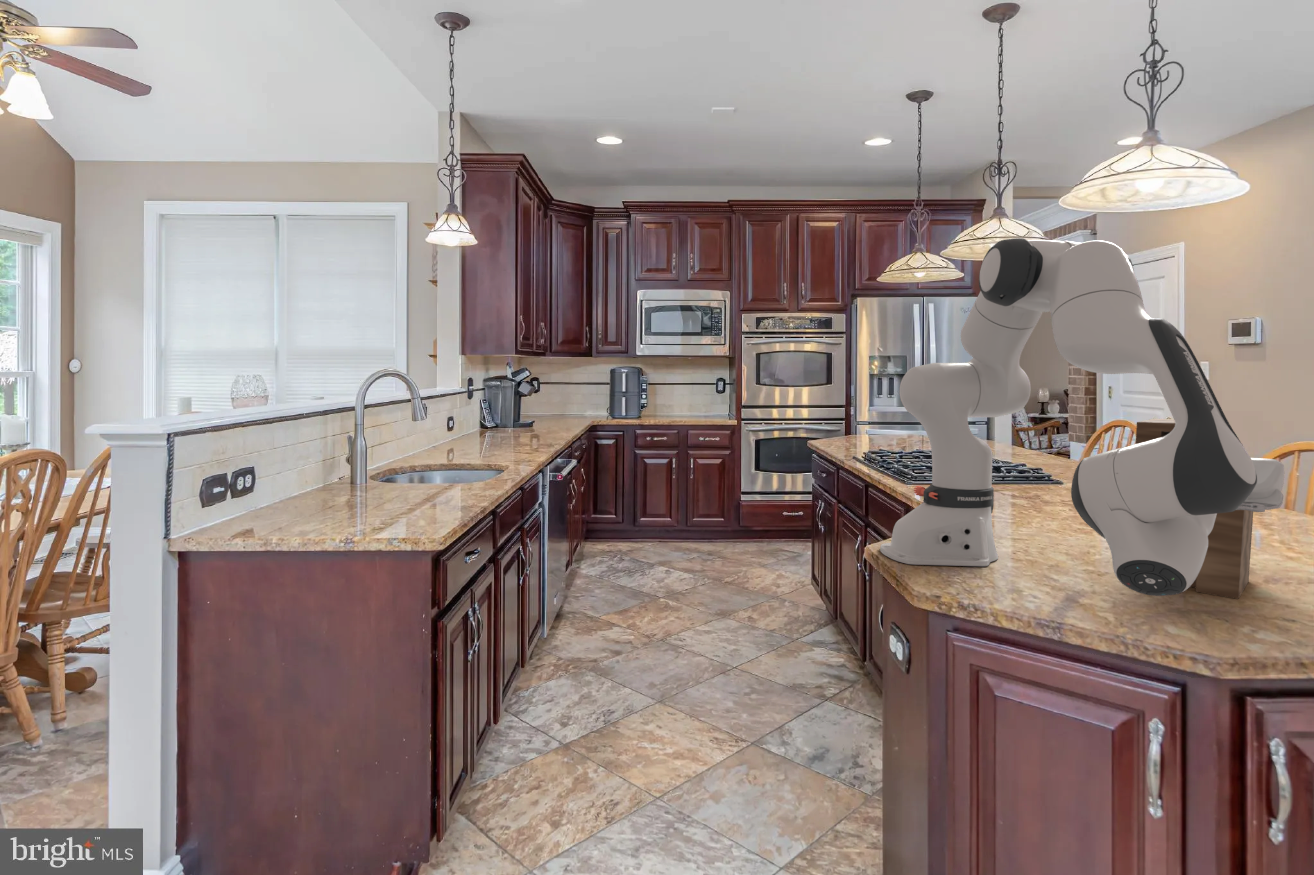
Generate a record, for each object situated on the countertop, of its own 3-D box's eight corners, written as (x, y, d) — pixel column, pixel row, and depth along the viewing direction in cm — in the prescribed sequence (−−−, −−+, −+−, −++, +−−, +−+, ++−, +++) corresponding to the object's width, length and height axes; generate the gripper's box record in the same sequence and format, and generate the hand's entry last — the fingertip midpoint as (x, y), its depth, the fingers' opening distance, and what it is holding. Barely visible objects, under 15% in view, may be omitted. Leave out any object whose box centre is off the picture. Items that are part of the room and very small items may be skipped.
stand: (1238, 598, 112) (1249, 426, 109) (1125, 579, 123) (1133, 422, 120) (1250, 577, 123) (1260, 421, 121) (1146, 562, 134) (1153, 418, 132)
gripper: (1280, 491, 83) (1292, 430, 91) (1087, 476, 98) (1111, 424, 106) (1280, 532, 86) (1291, 469, 94) (1091, 511, 100) (1115, 458, 108)
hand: (1194, 445), depth 100 cm, fingers closed on plug, 3 cm apart
